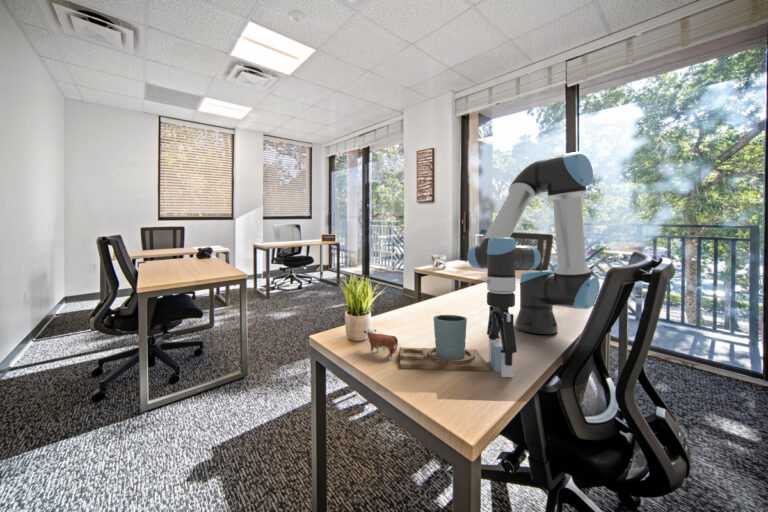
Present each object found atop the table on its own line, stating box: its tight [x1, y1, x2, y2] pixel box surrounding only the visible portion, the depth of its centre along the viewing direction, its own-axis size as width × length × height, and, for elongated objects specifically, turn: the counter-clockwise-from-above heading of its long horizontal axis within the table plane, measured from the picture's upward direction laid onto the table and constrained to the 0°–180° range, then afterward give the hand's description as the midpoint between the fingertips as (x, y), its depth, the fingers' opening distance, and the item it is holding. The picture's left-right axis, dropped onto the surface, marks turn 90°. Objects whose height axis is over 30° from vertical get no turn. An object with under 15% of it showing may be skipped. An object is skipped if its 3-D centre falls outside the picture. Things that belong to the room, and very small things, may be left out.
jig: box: [399, 346, 490, 372], centre depth 98 cm, size 25×16×2 cm, turn 87°
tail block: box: [490, 342, 510, 373], centre depth 90 cm, size 4×4×7 cm
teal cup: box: [433, 314, 468, 360], centre depth 98 cm, size 10×10×12 cm
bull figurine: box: [363, 327, 399, 361], centre depth 102 cm, size 4×13×8 cm, turn 51°
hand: (499, 368), depth 90 cm, fingers open, 11 cm apart
